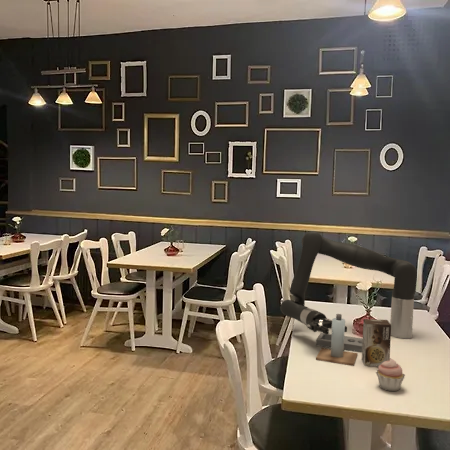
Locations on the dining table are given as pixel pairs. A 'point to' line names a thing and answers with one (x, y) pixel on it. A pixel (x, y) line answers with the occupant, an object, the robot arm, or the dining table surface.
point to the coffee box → (376, 342)
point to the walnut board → (347, 357)
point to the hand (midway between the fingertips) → (337, 330)
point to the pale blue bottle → (337, 336)
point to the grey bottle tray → (349, 342)
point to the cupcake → (390, 375)
